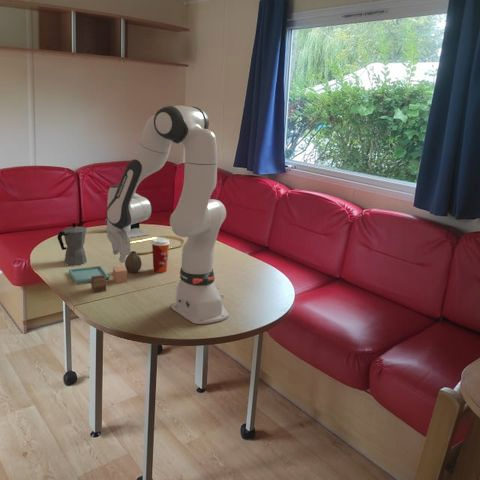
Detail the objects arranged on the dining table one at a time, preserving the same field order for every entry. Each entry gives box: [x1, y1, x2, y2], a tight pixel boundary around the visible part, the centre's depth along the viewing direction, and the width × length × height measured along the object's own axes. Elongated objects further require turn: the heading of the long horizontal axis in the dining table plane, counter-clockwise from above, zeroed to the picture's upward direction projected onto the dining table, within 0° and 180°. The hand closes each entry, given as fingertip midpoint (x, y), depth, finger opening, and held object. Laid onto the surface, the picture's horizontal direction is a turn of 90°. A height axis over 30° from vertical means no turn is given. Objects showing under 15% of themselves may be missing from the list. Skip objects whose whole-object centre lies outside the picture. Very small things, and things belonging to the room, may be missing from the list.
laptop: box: [127, 222, 150, 239], centre depth 253 cm, size 18×12×13 cm
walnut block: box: [90, 275, 107, 293], centre depth 185 cm, size 4×4×5 cm
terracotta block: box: [112, 266, 128, 284], centre depth 195 cm, size 4×4×5 cm
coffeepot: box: [57, 222, 87, 266], centre depth 208 cm, size 15×9×18 cm, turn 150°
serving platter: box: [130, 235, 185, 256], centre depth 239 cm, size 19×35×2 cm, turn 133°
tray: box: [68, 265, 110, 285], centre depth 197 cm, size 13×13×2 cm
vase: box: [124, 250, 143, 274], centre depth 204 cm, size 7×7×9 cm
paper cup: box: [150, 238, 171, 274], centre depth 206 cm, size 8×8×14 cm
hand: (118, 258), depth 193 cm, fingers open, 8 cm apart
